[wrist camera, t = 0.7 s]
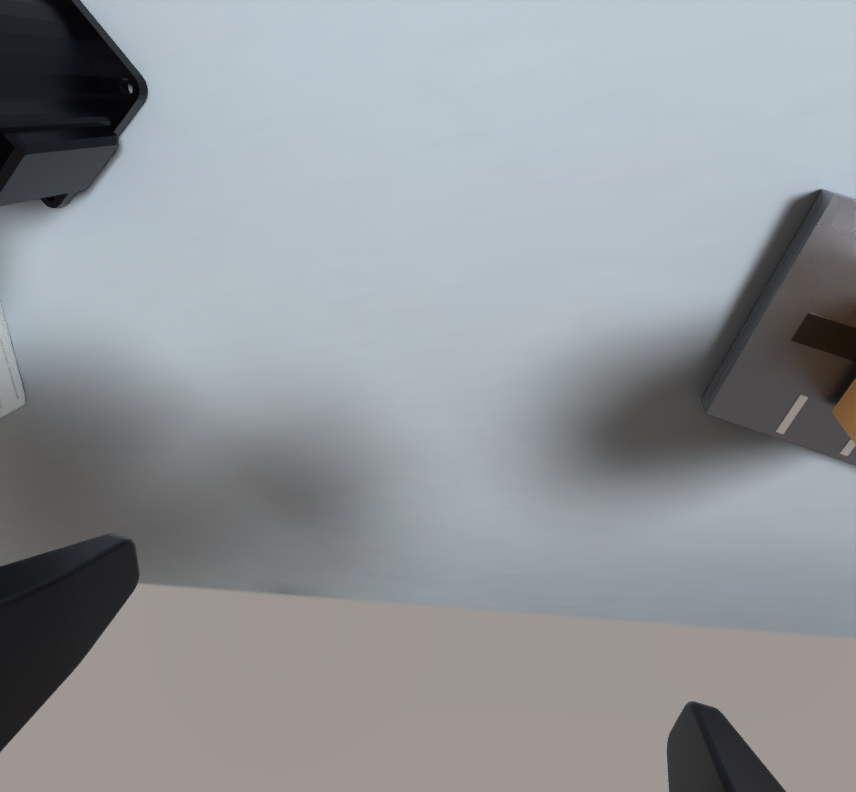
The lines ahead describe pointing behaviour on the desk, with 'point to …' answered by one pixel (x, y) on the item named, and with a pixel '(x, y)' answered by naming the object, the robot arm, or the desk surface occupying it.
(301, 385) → the desk surface
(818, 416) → the plate
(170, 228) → the desk surface
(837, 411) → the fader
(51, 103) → the robot arm
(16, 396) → the supplement box
